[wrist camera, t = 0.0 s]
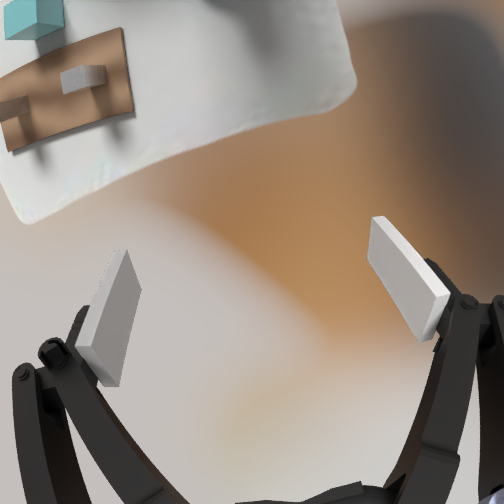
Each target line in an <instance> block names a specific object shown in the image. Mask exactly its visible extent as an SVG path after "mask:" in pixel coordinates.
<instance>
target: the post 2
mask: <svg viewBox="0 0 504 504" xmlns="http://www.w3.org/2000/svg"><path fill="white" fill-rule="evenodd" d="M60 78H61V84H62V90H63V94H67V93H72V92H76V91H80V90H85V89H90V88H93V87H96V86H99V85H103V84H106V83H108V82H107V76H106V70H105V65H80V66H77V67H74V68H72V69H69V70H67V71H64V72H61V73H60Z"/></svg>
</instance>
